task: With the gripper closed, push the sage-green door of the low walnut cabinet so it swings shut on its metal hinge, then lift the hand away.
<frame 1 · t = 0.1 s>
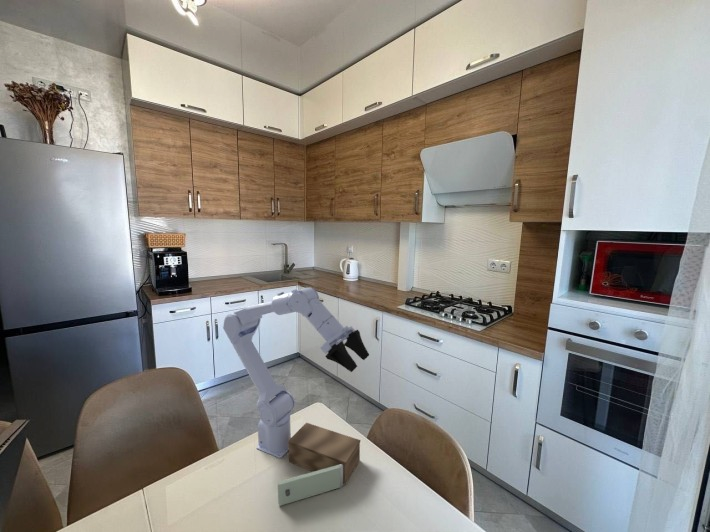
hand: (360, 363, 75), 32 cm above the table, tool tilted 50°, fingers open, 7 cm apart
cabinet: (324, 461, 84), on the table
door: (312, 485, 72), point 3 cm above the table, hinge at 45.0°
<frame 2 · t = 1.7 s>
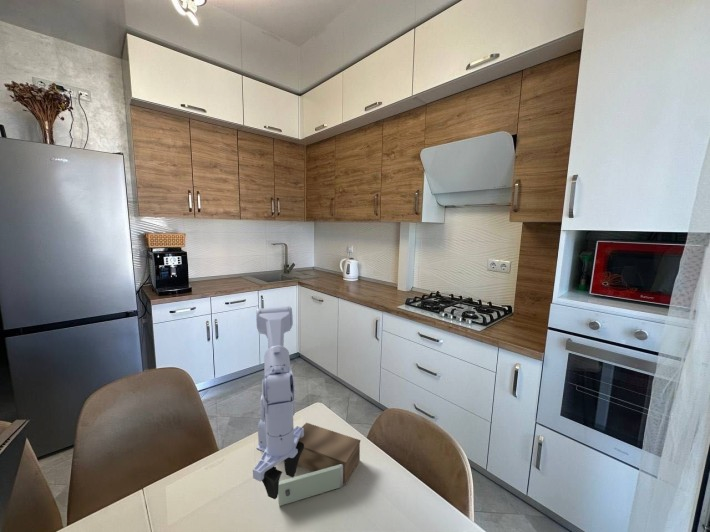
hand: (281, 485, 65), 9 cm above the table, tool pointing down, fingers open, 5 cm apart
nothing on the table moved.
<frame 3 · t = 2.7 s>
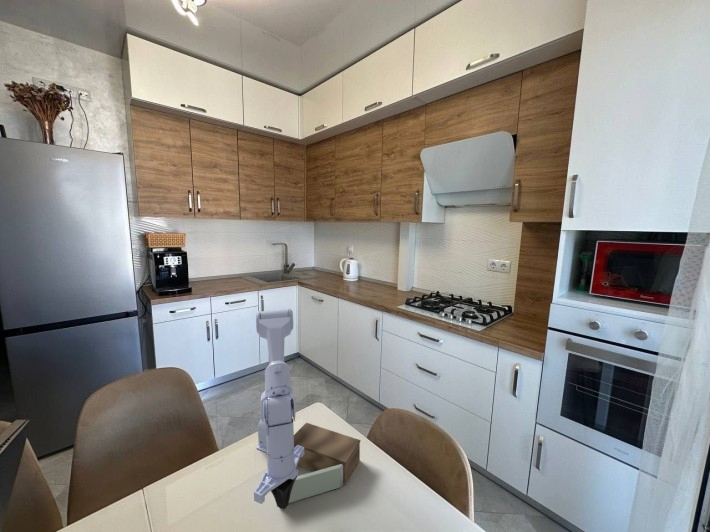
hand: (282, 505, 65), 5 cm above the table, tool pointing down, fingers closed
nothing on the table moved.
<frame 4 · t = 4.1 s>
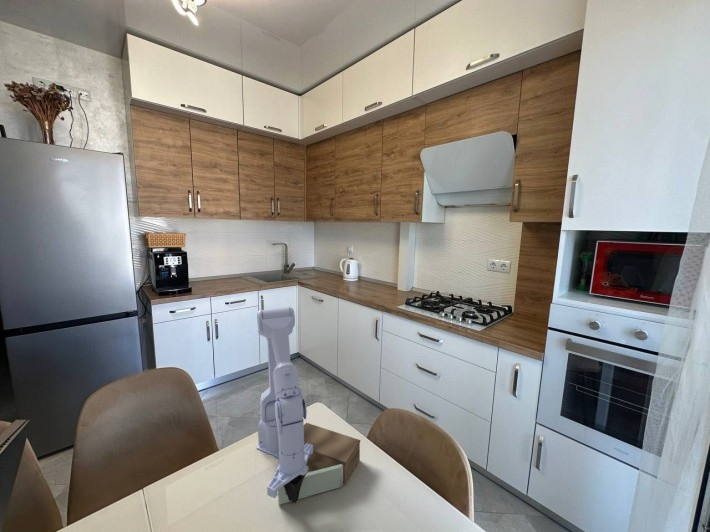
hand: (293, 500, 69), 2 cm above the table, tool pointing down, fingers closed
door: (311, 484, 72), point 3 cm above the table, hinge at 43.5°, touching gripper
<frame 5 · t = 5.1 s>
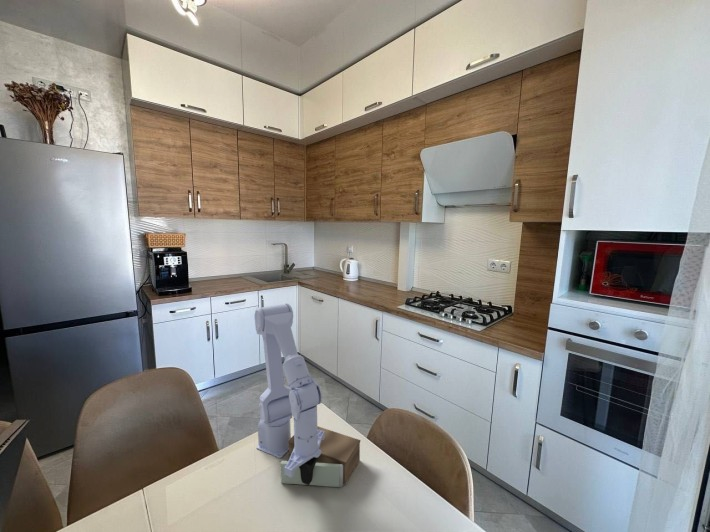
hand: (306, 481, 74), 2 cm above the table, tool pointing down, fingers closed
door: (311, 475, 75), point 3 cm above the table, hinge at 20.6°, touching gripper
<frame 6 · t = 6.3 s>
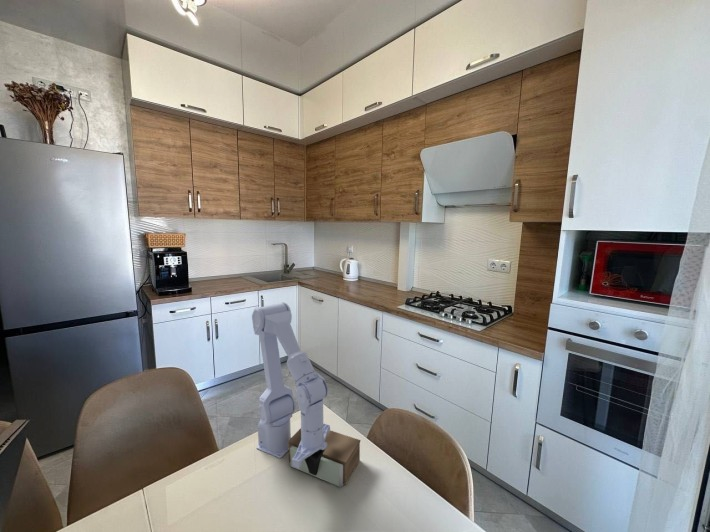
hand: (313, 473, 77), 2 cm above the table, tool pointing down, fingers closed
door: (315, 466, 78), point 3 cm above the table, hinge at -0.2°, touching gripper
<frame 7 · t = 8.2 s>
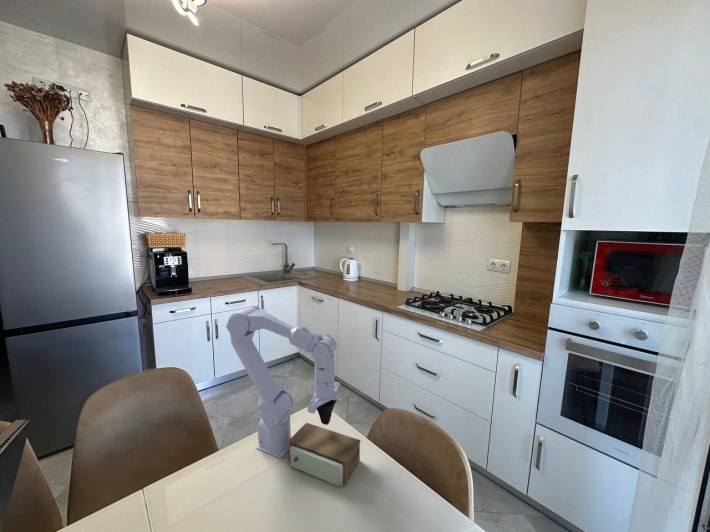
hand: (325, 422, 86), 9 cm above the table, tool pointing down, fingers closed
door: (315, 466, 78), point 3 cm above the table, hinge at -0.2°
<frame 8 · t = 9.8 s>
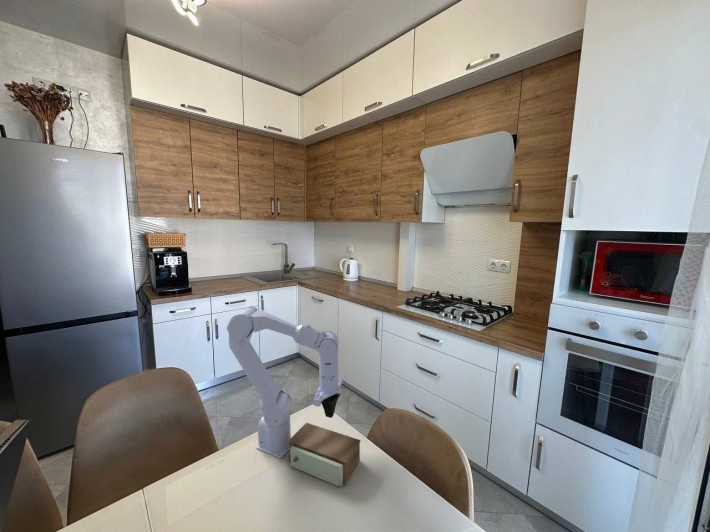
hand: (329, 415, 89), 9 cm above the table, tool pointing down, fingers closed
nothing on the table moved.
at the end: door at +0° (first picture: +45°) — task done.
